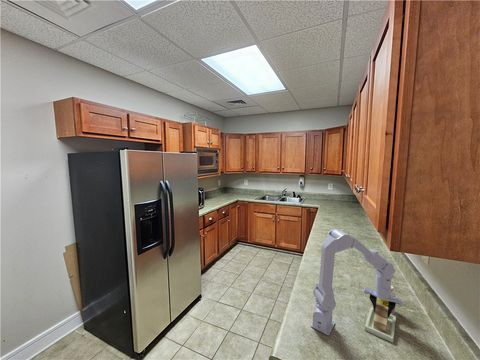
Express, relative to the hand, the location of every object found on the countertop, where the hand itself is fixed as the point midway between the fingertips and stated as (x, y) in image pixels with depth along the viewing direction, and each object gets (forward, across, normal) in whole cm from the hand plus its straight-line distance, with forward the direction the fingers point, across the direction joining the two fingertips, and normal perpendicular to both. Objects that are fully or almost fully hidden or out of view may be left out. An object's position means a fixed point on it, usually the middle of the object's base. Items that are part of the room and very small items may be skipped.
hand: (381, 313), depth 94 cm
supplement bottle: (+4, -1, -10) cm, 10 cm away
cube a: (+3, 0, +7) cm, 8 cm away
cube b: (+2, 0, 0) cm, 2 cm away
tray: (+3, 0, +4) cm, 5 cm away
